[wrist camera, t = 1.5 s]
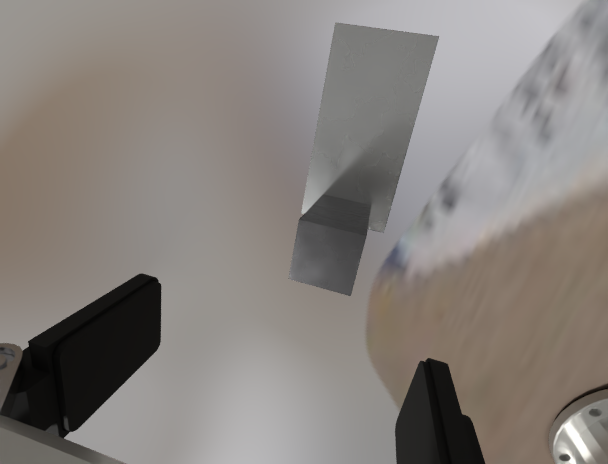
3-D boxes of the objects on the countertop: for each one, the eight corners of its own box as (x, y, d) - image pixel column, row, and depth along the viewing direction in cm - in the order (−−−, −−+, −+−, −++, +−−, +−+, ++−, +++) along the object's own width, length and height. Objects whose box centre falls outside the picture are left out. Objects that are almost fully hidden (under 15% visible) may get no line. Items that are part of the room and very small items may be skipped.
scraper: (377, 249, 27) (375, 303, 19) (300, 230, 28) (266, 272, 20) (436, 41, 22) (469, -15, 13) (337, 27, 23) (311, -31, 14)
